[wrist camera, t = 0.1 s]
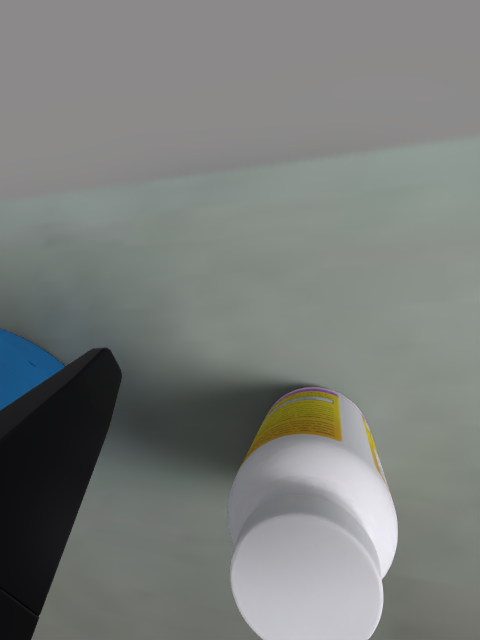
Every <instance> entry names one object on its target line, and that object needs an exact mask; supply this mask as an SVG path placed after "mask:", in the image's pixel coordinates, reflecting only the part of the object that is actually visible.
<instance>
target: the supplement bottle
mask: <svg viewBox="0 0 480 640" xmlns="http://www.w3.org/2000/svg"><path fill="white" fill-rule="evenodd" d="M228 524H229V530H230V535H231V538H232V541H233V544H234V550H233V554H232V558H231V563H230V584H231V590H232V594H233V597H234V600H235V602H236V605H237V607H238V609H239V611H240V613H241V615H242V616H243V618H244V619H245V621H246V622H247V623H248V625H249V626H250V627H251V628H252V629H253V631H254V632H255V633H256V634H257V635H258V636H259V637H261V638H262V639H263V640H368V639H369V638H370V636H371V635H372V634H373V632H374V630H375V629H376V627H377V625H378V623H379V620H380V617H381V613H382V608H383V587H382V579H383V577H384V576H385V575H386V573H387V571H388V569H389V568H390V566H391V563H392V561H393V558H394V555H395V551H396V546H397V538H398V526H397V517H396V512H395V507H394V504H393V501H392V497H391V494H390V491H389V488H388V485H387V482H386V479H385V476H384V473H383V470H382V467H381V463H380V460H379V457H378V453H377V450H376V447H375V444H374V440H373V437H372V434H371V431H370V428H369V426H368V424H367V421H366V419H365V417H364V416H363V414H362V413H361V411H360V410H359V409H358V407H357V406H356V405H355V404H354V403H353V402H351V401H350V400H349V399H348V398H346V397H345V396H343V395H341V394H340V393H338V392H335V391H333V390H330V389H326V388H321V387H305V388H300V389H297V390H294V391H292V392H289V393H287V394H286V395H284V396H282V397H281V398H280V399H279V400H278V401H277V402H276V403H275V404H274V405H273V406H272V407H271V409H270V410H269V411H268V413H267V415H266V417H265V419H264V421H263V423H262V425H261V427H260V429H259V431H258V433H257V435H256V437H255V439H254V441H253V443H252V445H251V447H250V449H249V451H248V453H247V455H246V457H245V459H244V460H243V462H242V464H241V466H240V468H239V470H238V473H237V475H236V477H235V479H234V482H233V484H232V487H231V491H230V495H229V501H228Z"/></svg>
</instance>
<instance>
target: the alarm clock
mask: <svg viewBox="0 0 480 640" xmlns="http://www.w3.org/2000/svg"><path fill="white" fill-rule="evenodd" d="M64 367H65V366H64V365H63V364H61V363H60V362H59V361H58V360H57V359H55V358H54V357H53V356H52V355H50V354H49V353H47V352H46V351H44V350H43V349H41V348H40V347H38V346H36V345H34V344H33V343H31V342H29V341H27V340H25V339H23V338H21V337H19V336H17V335H15V334H12V333H10V332H7V331H5V330H2V329H0V410H2V409H3V408H5V407H6V406H8V405H9V404H11V403H12V402H13V401H15V400H16V399H18V398H19V397H21V396H22V395H24V394H25V393H27V392H28V391H30V390H31V389H33V388H34V387H36V386H37V385H39V384H40V383H42V382H43V381H45V380H46V379H48V378H49V377H51V376H52V375H54V374H55V373H57V372H58V371H60V370H61V369H63V368H64Z"/></svg>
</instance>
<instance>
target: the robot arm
mask: <svg viewBox="0 0 480 640" xmlns="http://www.w3.org/2000/svg"><path fill="white" fill-rule="evenodd" d="M121 378H122V374H121V369H120V367H119V365H118V364H117V362H116V360H115V358H114V356H113V354H112V352H111V350H110V349H108V348H94V349H91V350H90V351H88V352H87V353H85V354H84V355H82V356H81V357H79V358H78V359H76V360H75V361H73V362H72V363H70V364H69V365H67V366H66V367H64V368H63V369H61V370H60V371H58V372H57V373H55V374H54V375H52V376H51V377H49V378H48V379H46V380H45V381H43V382H42V383H40V384H39V385H37V386H36V387H34V388H33V389H31V390H30V391H28V392H27V393H25V394H24V395H22V396H21V397H19V398H18V399H16V400H15V401H13V402H12V403H11V404H9V405H8V406H6V407H5V408H3V409H2V410H0V640H31V638H32V636H33V633H34V630H35V628H36V625H37V622H38V619H39V615H40V613H41V611H42V608H43V605H44V603H45V600H46V597H47V594H48V592H49V589H50V586H51V584H52V581H53V578H54V576H55V573H56V570H57V567H58V565H59V562H60V559H61V557H62V554H63V551H64V548H65V546H66V543H67V540H68V538H69V535H70V532H71V530H72V527H73V524H74V521H75V519H76V516H77V513H78V511H79V508H80V505H81V502H82V500H83V497H84V494H85V492H86V489H87V486H88V484H89V481H90V478H91V475H92V473H93V470H94V467H95V465H96V462H97V459H98V456H99V454H100V451H101V448H102V446H103V443H104V440H105V438H106V435H107V432H108V429H109V425H110V422H111V418H112V414H113V410H114V406H115V402H116V398H117V394H118V390H119V386H120V383H121Z"/></svg>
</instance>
